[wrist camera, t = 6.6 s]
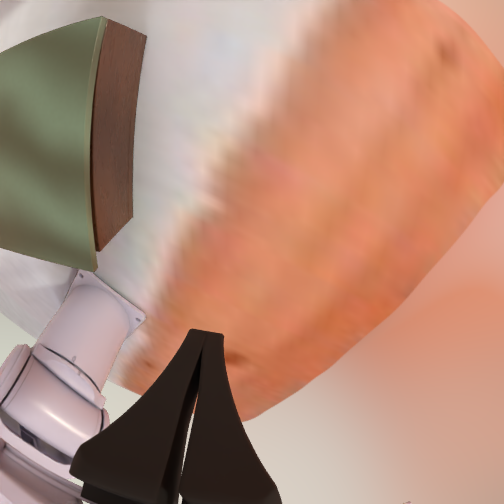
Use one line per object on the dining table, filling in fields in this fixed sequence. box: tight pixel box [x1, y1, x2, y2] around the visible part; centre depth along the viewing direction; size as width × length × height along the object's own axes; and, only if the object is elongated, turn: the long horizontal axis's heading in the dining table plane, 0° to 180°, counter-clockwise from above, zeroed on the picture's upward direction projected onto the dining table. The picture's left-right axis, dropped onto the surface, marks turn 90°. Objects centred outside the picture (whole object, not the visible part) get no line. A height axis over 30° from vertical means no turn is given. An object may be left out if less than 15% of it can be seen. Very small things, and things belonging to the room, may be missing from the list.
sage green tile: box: [0, 16, 107, 272], centre depth 11 cm, size 14×12×1 cm
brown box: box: [90, 19, 147, 252], centre depth 13 cm, size 14×12×5 cm
